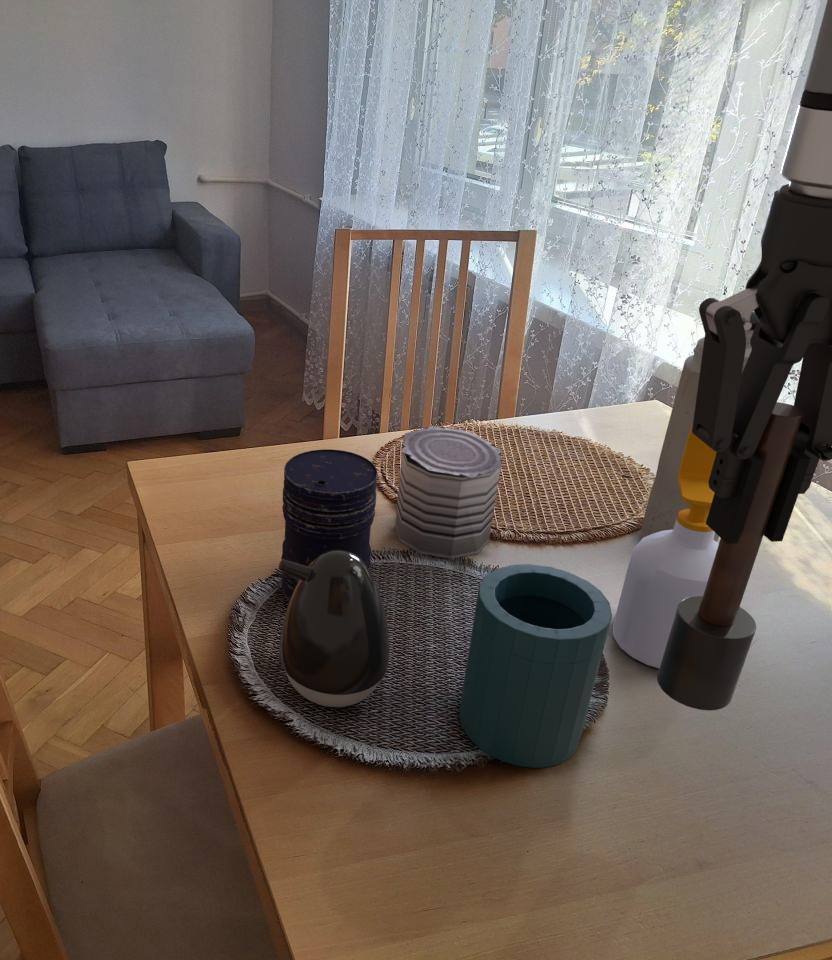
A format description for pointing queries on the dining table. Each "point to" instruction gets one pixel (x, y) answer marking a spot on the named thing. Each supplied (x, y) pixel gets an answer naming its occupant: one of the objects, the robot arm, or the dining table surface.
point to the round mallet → (727, 590)
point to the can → (446, 492)
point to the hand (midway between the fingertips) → (743, 531)
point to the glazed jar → (532, 663)
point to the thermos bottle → (678, 446)
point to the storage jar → (327, 507)
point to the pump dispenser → (334, 630)
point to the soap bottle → (669, 564)
